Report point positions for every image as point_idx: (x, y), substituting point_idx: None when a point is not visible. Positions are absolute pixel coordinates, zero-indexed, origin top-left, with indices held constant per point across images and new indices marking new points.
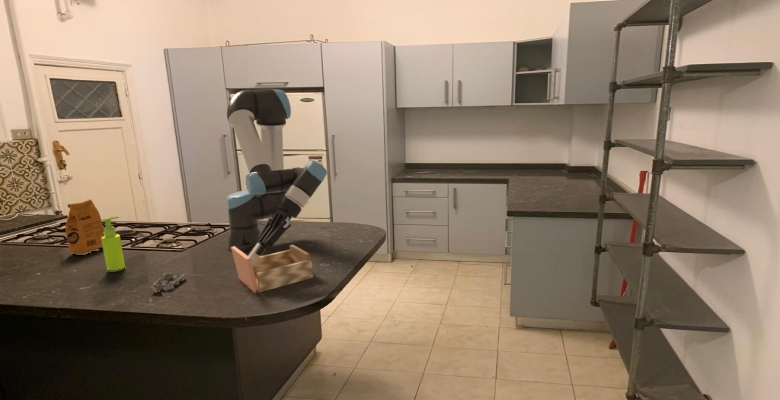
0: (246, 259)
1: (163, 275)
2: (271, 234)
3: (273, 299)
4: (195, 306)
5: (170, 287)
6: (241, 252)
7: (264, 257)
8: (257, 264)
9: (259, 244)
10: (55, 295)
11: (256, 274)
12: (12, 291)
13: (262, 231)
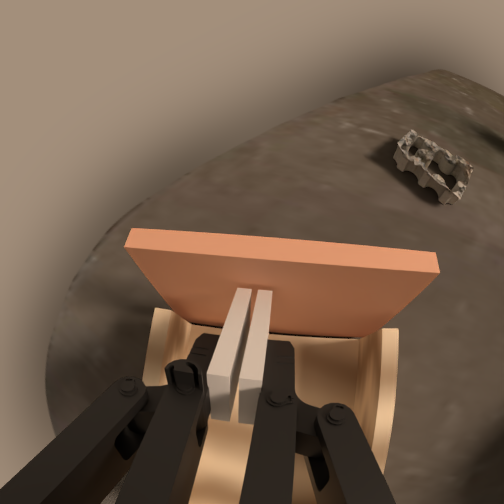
0: (134, 228)
1: (459, 160)
2: (79, 452)
3: (125, 335)
4: (260, 171)
5: (400, 156)
6: (275, 253)
7: (370, 439)
8: (366, 399)
9: (208, 370)
10: (450, 88)
11: (335, 382)
12: (473, 82)
13: (347, 486)
